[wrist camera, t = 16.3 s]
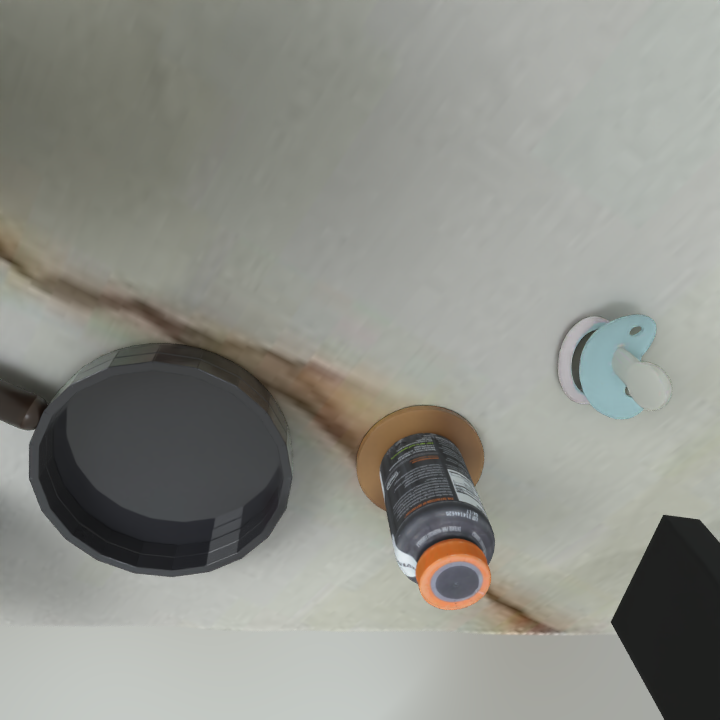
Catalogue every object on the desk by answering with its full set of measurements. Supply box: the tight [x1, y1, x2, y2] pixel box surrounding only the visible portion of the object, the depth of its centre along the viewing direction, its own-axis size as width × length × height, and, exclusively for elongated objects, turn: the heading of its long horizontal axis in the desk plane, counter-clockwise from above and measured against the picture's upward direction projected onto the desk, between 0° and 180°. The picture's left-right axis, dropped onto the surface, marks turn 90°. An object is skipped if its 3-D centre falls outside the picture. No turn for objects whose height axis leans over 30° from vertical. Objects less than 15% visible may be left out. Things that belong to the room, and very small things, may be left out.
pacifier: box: [558, 315, 672, 419], centre depth 40 cm, size 7×6×6 cm
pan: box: [29, 343, 293, 577], centre depth 42 cm, size 16×16×3 cm
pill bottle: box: [380, 433, 495, 610], centre depth 40 cm, size 6×6×11 cm
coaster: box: [356, 406, 484, 511], centre depth 45 cm, size 9×9×1 cm
